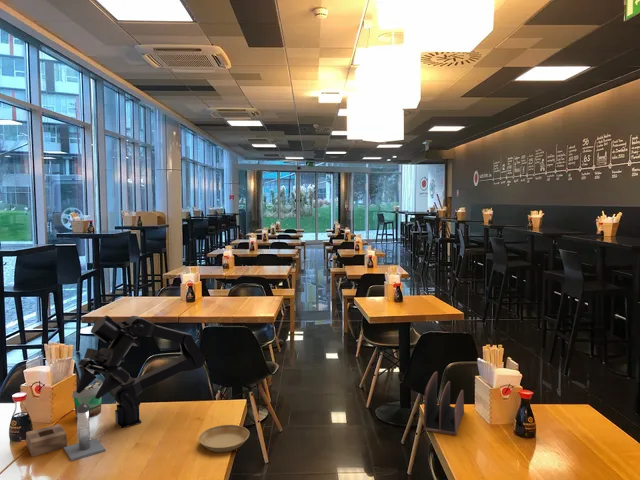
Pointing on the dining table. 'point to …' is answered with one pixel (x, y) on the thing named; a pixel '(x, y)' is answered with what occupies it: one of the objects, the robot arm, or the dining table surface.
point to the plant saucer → (224, 438)
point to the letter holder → (441, 409)
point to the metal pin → (83, 426)
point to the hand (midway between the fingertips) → (86, 395)
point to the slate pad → (76, 454)
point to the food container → (89, 399)
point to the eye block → (46, 439)
